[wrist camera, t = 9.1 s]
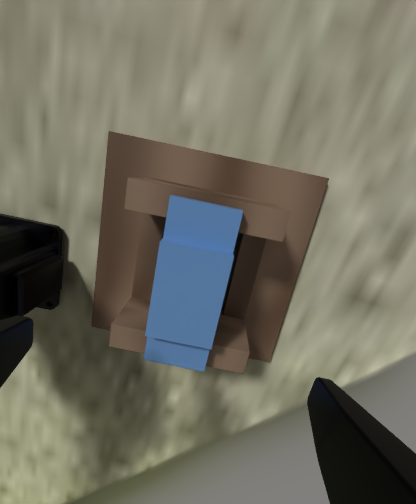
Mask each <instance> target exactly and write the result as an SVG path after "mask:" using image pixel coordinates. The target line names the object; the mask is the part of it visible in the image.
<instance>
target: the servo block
mask: <svg viewBox="0 0 416 504" xmlns="http://www.w3.org/2000/svg"><path fill="white" fill-rule="evenodd" d="M242 215H243V210H241V209H237V208H232V207H227V206H223V205H218V204H213V203H209V202H204V201H199V200H194V199H190V198H185V197H180V196H176V195H170V198H169V205H168V211H167V217H166V223H165V230H164V236H163V239H162V240H161V241H160V244H159V250H158V257H157V263H156V269H155V276H154V282H153V288H152V294H151V301H150V307H149V313H148V320H147V326H146V332H145V336H147V341H146V347H145V354H144V360H148V361H153V362H158V363H163V364H168V365H173V366H178V367H183V368H188V369H193V370H198V371H203V372H204V371H205V366H206V362H207V358H208V354H209V350H210V349H212V345H213V340H214V336H215V332H216V328H217V324H218V320H219V316H220V312H221V308H222V304H223V300H224V296H225V292H226V288H227V284H228V279H229V275H230V271H231V267H232V263H233V259H234V254H233V252H234V248H235V243H236V239H237V235H238V231H239V227H240V223H241V219H242Z"/></svg>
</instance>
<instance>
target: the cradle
mask: <svg viewBox="0 0 416 504" xmlns="http://www.w3.org/2000/svg"><path fill="white" fill-rule="evenodd" d="M328 180H329V178H324V177H320V176H315V175H310V174H306V173H301V172H296V171H292V170H287V169H283V168H278V167H273V166H269V165H264V164H259V163H255V162H250V161H245V160H241V159H236V158H231V157H227V156H222V155H217V154H213V153H208V152H203V151H199V150H194V149H189V148H185V147H180V146H175V145H171V144H166V143H162V142H157V141H152V140H148V139H143V138H138V137H134V136H129V135H124V134H120V133H115V132H110V131H109V134H108V146H107V157H106V168H105V180H104V191H103V202H102V214H101V225H100V236H99V248H98V259H97V270H96V281H95V293H94V304H93V315H92V326H94V327H99V328H104V329H108V330H111V331H110V340H109V347H114V348H119V349H124V350H129V351H134V352H139V353H144V354H145V347H146V341H147V336H145V332H146V326H147V320H148V313H149V307H150V301H151V294H152V288H153V282H154V276H155V269H156V263H157V257H158V250H159V244H160V241H161V240H162V239H163V236H164V230H165V223H166V217H167V211H168V205H169V198H170V195H176V196H180V197H185V198H190V199H194V200H199V201H204V202H209V203H213V204H218V205H223V206H227V207H232V208H237V209H241V210H243V215H242V219H241V223H240V227H239V231H238V235H237V239H236V243H235V248H234V252H233V254H234V259H233V263H232V267H231V271H230V275H229V279H228V284H227V288H226V292H225V296H224V300H223V304H222V308H221V312H220V316H219V320H218V324H217V328H216V332H215V336H214V340H213V345H212V349H210V350H209V354H208V358H207V362H206V366H208V367H213V368H218V369H223V370H228V371H233V372H238V373H243V374H244V370H245V367H246V364H247V360H248V358H251V359H256V360H261V361H266V362H270V359H271V356H272V353H273V350H274V347H275V343H276V340H277V337H278V334H279V331H280V328H281V325H282V322H283V319H284V316H285V313H286V310H287V306H288V303H289V300H290V297H291V294H292V291H293V288H294V285H295V282H296V279H297V276H298V273H299V269H300V266H301V263H302V260H303V257H304V254H305V251H306V248H307V245H308V242H309V239H310V236H311V232H312V229H313V226H314V223H315V220H316V217H317V214H318V211H319V208H320V205H321V202H322V198H323V195H324V192H325V189H326V186H327V183H328Z"/></svg>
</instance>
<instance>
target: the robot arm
mask: <svg viewBox="0 0 416 504" xmlns="http://www.w3.org/2000/svg"><path fill="white" fill-rule="evenodd" d="M52 230H54V231H55V235H53V234H52ZM61 253H62V230H61V228H60V227H59V226H56V225H52V224H47V223H43V222H38V221H33V220H28V219H23V218H19V217H14V216H9V215H4V214H0V388H1V386H2V385H3V384H4V382H5V381H6V380H7V378H8V377H9V376H10V375H11V373H12V372H13V371H14V369H15V368H16V367H17V365H18V364H19V363H20V361H21V360H22V359H23V357H24V356H25V355H26V353H27V352H28V351H29V349H30V348H31V346H32V343H33V320H32V319H31V318H28V317H23V316H24V315H25V314H27V313H28V312H29V311H31V310H32V309H34V308H35V307H39V308H44V309H49V310H52V309H54V308H56V307H57V306H58V305H59V295H60V290H61V288H62V270H63V258H62V256H61ZM50 301H51V302H52V303H53V304H51V303H50ZM307 404H308V410H309V416H310V421H311V426H312V432H313V437H314V443H315V447H316V453H317V457H318V462H319V465H320V469H321V473H322V477H323V480H324V484H325V487H326V491H327V494H328V498H329V501H330V504H416V454H415V453H414V452H413V451H412V450H411V449H410V448H409V447H407V446H406V445H405V444H404V443H403V442H402V441H401V440H399V439H398V438H397V437H396V436H395V435H394V434H393V433H391V432H390V431H389V430H388V429H387V428H386V427H384V426H383V425H382V424H381V423H380V422H379V421H378V420H376V419H375V418H374V417H373V416H372V415H371V414H369V413H368V412H367V411H366V410H365V409H364V408H363V407H361V406H360V405H359V404H358V403H357V402H356V401H354V400H353V399H352V398H351V397H350V396H349V395H348V394H346V393H345V392H344V391H343V390H342V389H341V388H340V387H338V386H337V385H336V384H335V383H334V382H333V381H331V380H329V379H325V378H320V377H318V378H316V379H315V381H314V383H313V386H312V388H311V391H310V394H309V396H308V401H307Z"/></svg>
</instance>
